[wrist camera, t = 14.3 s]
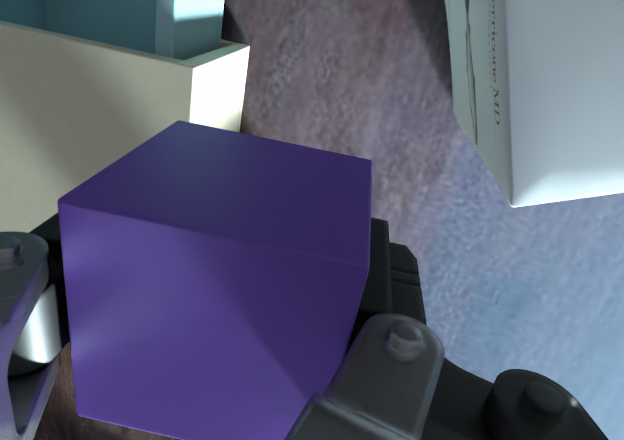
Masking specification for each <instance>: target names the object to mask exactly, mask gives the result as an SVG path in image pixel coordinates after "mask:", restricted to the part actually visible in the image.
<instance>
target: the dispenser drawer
mask: <svg viewBox="0 0 624 440" xmlns="http://www.w3.org/2000/svg"><path fill="white" fill-rule="evenodd" d="M223 9H224V0H0V20H1V21H5V22H10V23H15V24H19V25H24V26H28V27H33V28H37V29H42V30H47V31H51V32H56V33H60V34H65V35H69V36H74V37H79V38H83V39H88V40H92V41H97V42H101V43H106V44H111V45H115V46H120V47H124V48H129V49H133V50H138V51H143V52H147V53H152V54H156V55H161V56H165V57H170V58H175V59H179V60H186V59H189V58H192V57H195V56H198V55H201V54H204V53H207V52H210V51H213V50H216V49H219V48H220V42H221V31H222V20H223Z"/></svg>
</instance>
